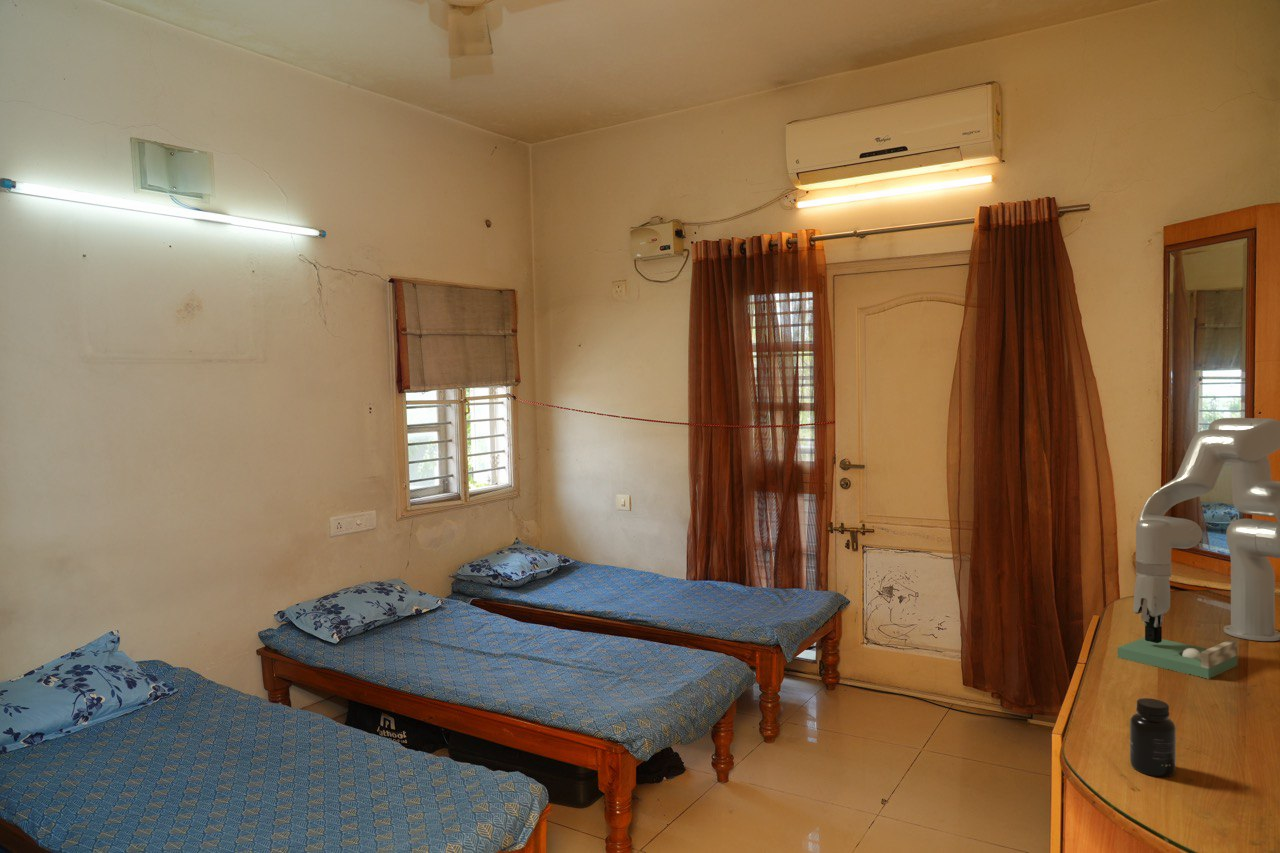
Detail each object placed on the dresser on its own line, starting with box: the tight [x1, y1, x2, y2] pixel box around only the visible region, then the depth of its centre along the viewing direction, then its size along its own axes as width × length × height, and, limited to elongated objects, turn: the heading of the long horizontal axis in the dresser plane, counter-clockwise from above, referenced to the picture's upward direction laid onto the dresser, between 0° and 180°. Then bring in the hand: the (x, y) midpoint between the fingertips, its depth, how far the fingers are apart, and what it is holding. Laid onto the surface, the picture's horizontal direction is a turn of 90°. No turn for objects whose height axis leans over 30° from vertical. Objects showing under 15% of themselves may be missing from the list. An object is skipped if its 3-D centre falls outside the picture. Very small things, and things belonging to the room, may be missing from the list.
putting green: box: [1117, 636, 1238, 680], centre depth 199 cm, size 16×20×2 cm
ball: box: [1182, 648, 1201, 660], centre depth 196 cm, size 4×4×4 cm
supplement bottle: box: [1129, 697, 1177, 778], centre depth 142 cm, size 7×7×12 cm
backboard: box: [1201, 639, 1238, 669], centre depth 191 cm, size 16×2×4 cm, turn 124°
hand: (1153, 641), depth 203 cm, fingers closed
